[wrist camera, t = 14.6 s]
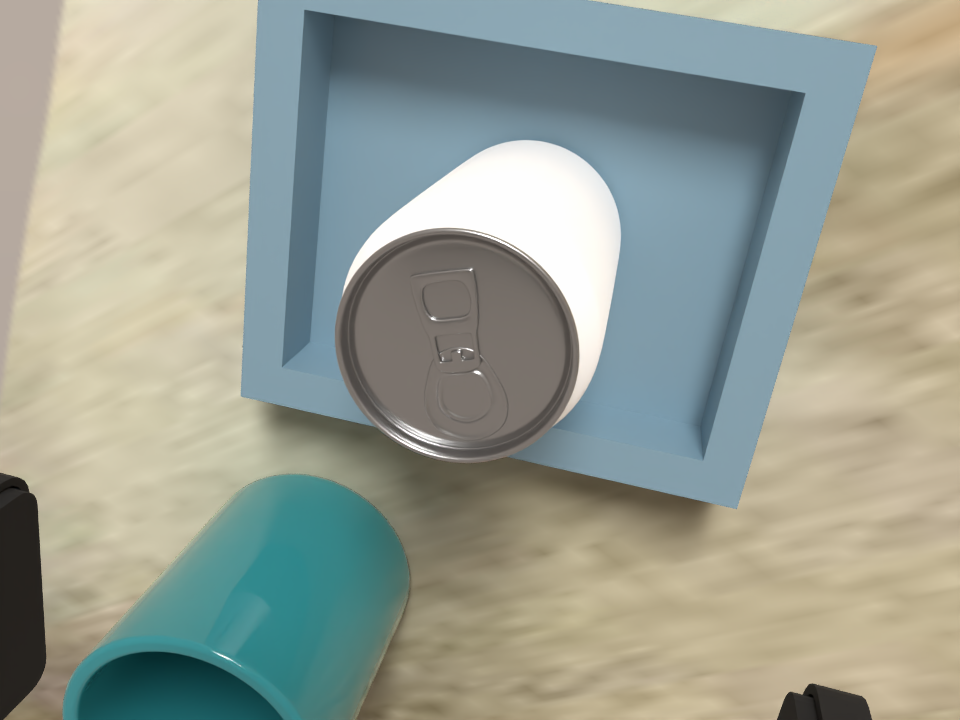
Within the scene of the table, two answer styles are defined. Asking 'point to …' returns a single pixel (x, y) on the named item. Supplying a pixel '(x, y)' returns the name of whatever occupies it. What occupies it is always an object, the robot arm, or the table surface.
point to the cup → (257, 615)
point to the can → (482, 304)
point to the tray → (603, 145)
